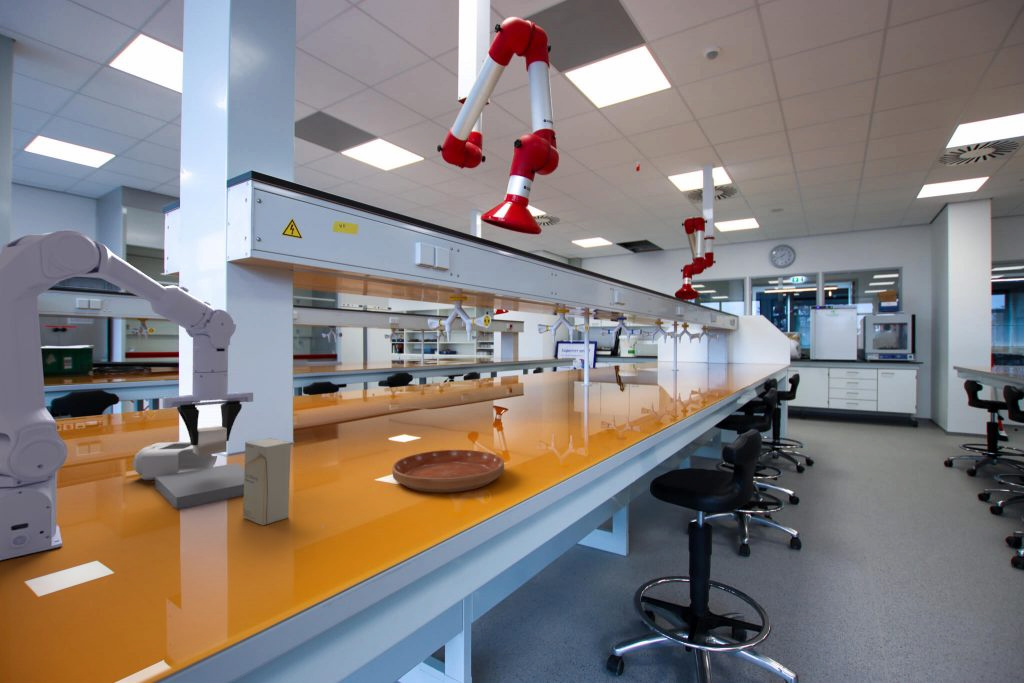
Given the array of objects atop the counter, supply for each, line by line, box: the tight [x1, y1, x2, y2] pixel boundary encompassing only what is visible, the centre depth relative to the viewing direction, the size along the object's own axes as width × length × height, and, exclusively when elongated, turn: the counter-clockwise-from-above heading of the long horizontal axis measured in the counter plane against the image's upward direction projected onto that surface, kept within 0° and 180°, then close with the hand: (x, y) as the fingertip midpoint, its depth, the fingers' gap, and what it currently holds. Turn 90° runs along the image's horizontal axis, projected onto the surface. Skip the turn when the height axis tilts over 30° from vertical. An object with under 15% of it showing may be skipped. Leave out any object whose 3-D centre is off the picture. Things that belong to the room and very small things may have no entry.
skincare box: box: [242, 437, 292, 526], centre depth 74 cm, size 6×4×12 cm
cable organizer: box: [132, 441, 218, 481], centre depth 98 cm, size 7×12×12 cm
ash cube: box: [193, 425, 228, 456], centre depth 89 cm, size 4×4×4 cm
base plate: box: [154, 462, 245, 510], centre depth 89 cm, size 18×14×2 cm
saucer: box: [391, 449, 505, 494], centre depth 96 cm, size 23×23×4 cm
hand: (210, 442), depth 89 cm, fingers closed on ash cube, 4 cm apart
